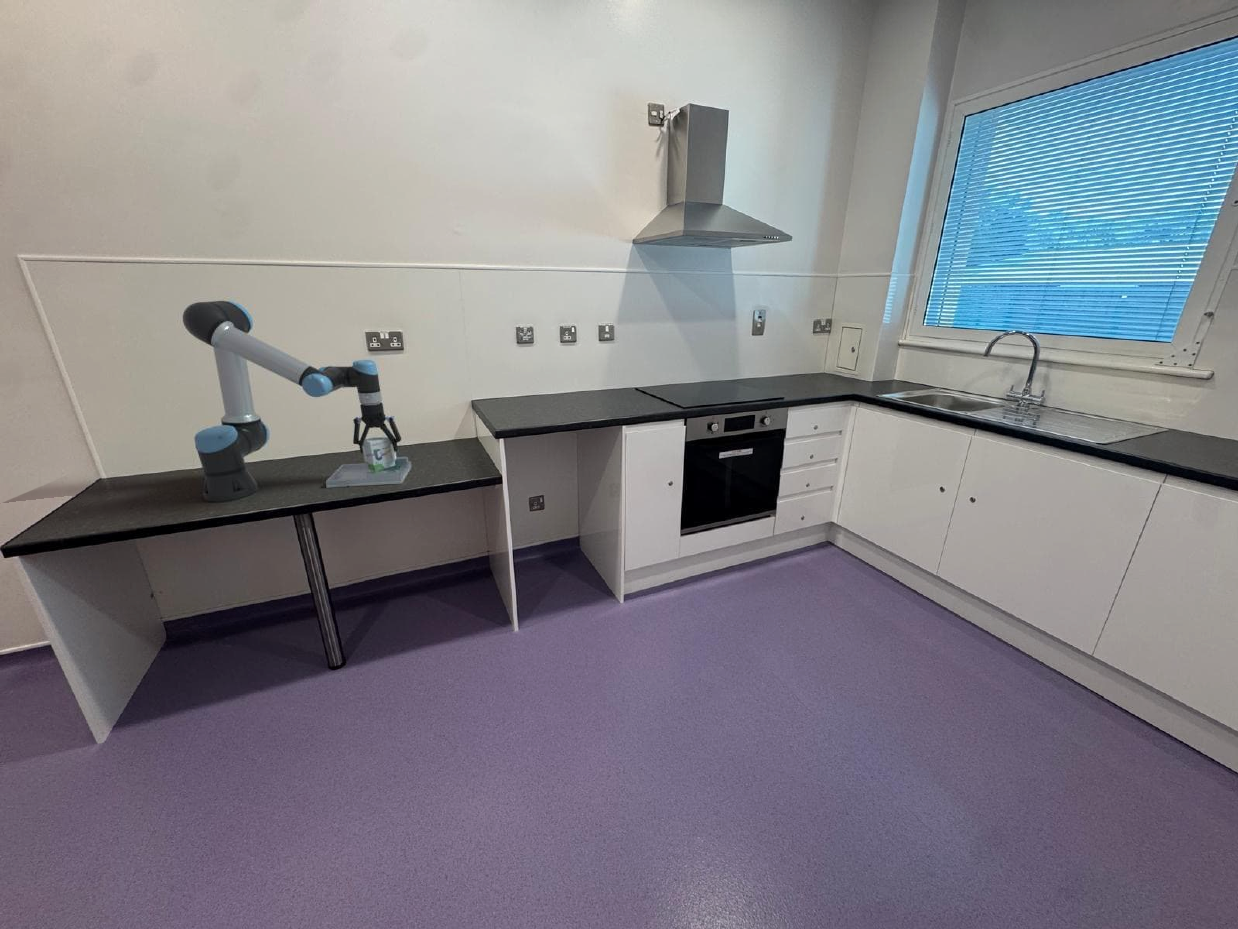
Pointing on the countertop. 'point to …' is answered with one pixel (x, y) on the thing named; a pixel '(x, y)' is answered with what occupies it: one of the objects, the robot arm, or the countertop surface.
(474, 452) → the countertop surface
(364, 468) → the keyhole tray
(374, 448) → the ink box
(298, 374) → the robot arm
